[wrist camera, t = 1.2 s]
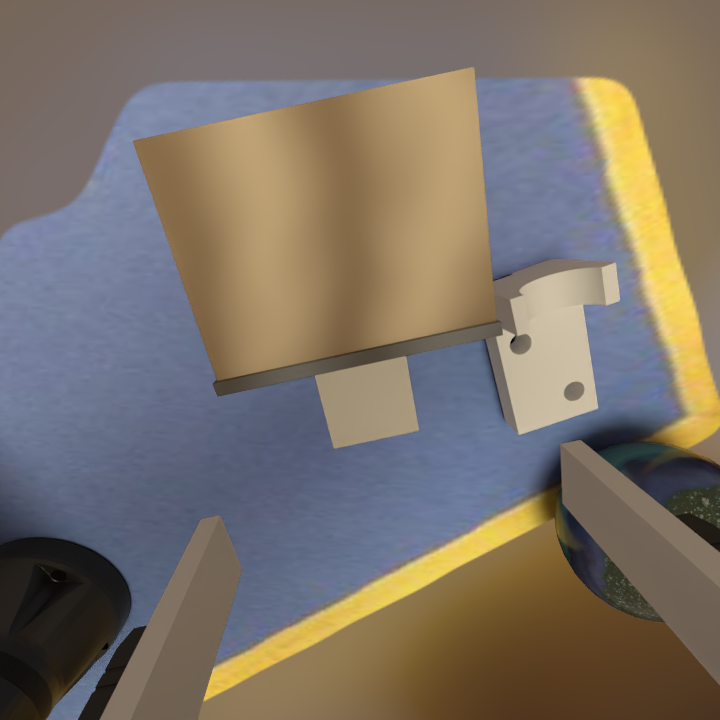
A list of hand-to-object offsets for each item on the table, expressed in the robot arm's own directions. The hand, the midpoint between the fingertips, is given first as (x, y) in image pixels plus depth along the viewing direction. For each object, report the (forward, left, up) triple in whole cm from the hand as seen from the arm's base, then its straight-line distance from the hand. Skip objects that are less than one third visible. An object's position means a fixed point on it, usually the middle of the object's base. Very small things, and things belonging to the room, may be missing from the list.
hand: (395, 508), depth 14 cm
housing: (0, +10, -19) cm, 21 cm away
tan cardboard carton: (0, +4, -19) cm, 19 cm away
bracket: (+15, -2, -19) cm, 24 cm away
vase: (+22, -19, -19) cm, 35 cm away
